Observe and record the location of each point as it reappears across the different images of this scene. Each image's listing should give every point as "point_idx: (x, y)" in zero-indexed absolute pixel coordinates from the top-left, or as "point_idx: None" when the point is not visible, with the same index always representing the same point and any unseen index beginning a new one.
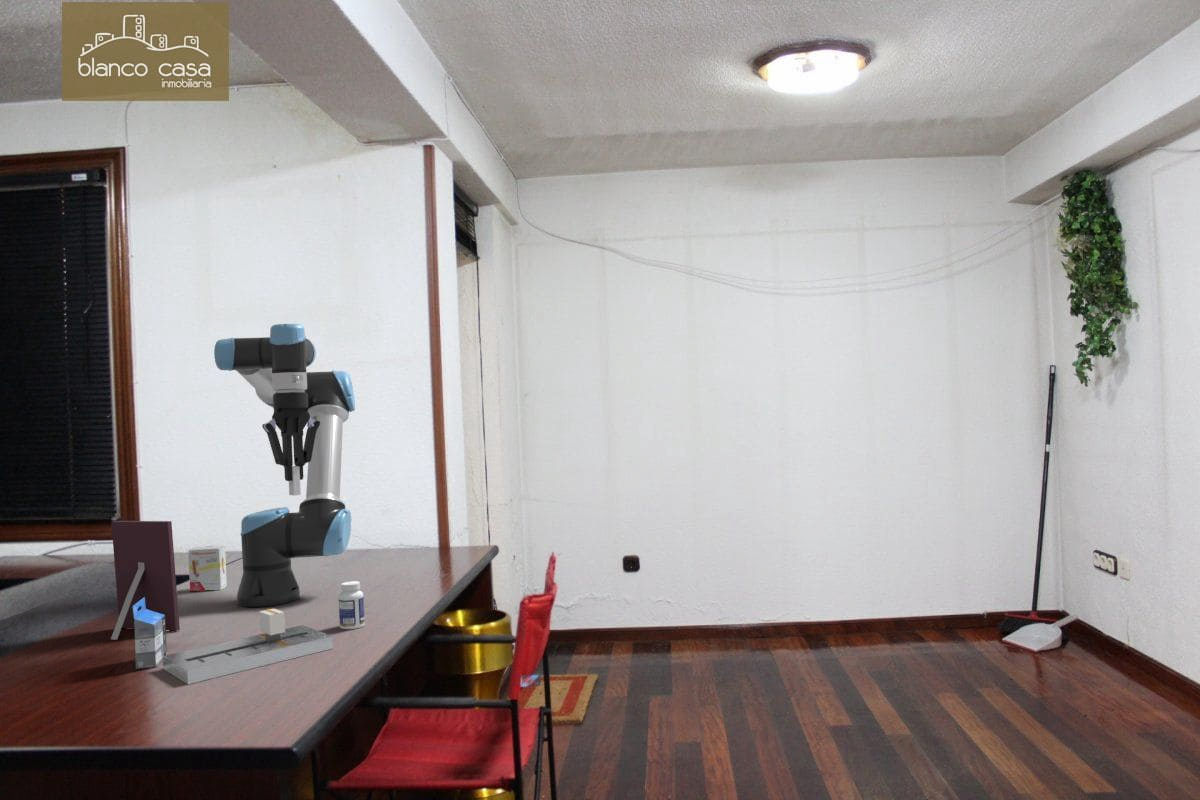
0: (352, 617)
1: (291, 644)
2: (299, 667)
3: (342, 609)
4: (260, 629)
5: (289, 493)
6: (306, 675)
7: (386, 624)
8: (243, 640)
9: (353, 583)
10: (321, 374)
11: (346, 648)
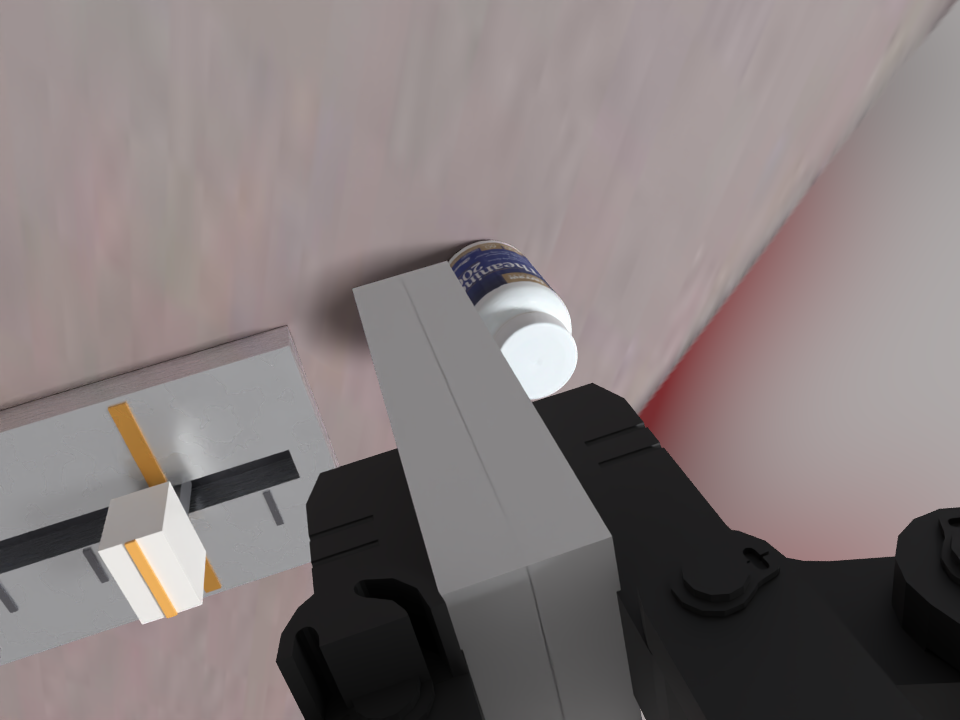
0: None
1: (224, 577)
2: (238, 643)
3: None
4: (110, 505)
5: (357, 304)
6: (249, 706)
7: (592, 325)
8: (45, 454)
9: (544, 381)
10: None
11: None
